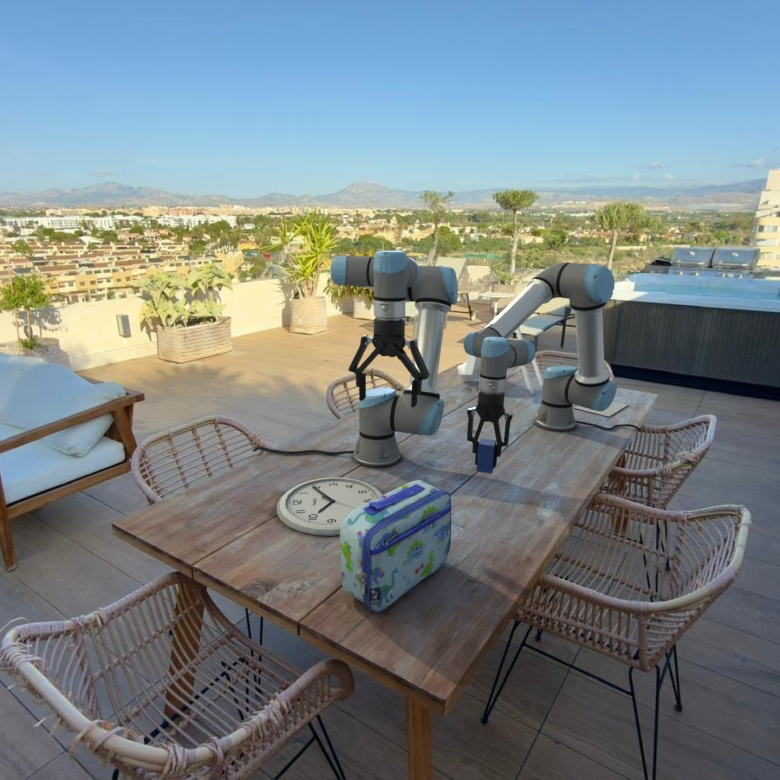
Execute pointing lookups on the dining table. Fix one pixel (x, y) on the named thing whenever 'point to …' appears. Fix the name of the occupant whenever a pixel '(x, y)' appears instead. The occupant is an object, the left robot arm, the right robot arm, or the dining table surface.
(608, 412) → the invitation card
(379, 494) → the wall clock
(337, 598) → the dining table surface
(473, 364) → the white plastic object
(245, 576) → the dining table surface
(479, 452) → the block
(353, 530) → the lunch box
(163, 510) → the dining table surface
